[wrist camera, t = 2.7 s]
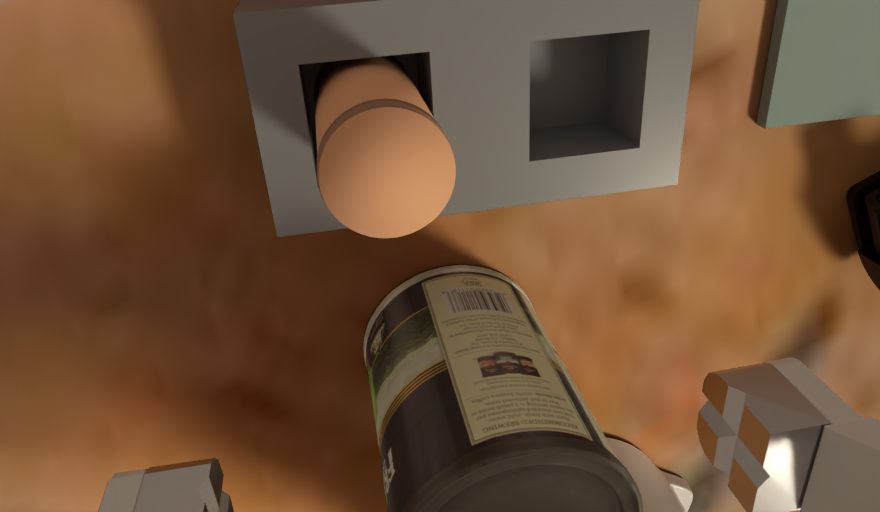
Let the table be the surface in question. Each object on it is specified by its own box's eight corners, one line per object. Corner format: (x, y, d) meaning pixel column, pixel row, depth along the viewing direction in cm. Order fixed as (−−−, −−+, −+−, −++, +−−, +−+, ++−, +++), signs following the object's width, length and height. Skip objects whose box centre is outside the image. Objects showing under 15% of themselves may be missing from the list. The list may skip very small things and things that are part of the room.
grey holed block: (630, 148, 35) (677, 184, 31) (280, 191, 33) (277, 237, 28) (646, -40, 31) (702, -29, 26) (243, -5, 28) (232, 14, 24)
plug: (417, 138, 31) (460, 229, 23) (320, 149, 31) (327, 248, 22) (409, 39, 29) (453, 99, 21) (305, 49, 29) (306, 115, 20)
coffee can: (398, 433, 41) (439, 659, 29) (335, 303, 36) (351, 512, 24) (555, 374, 41) (661, 576, 29) (514, 236, 36) (622, 410, 24)
